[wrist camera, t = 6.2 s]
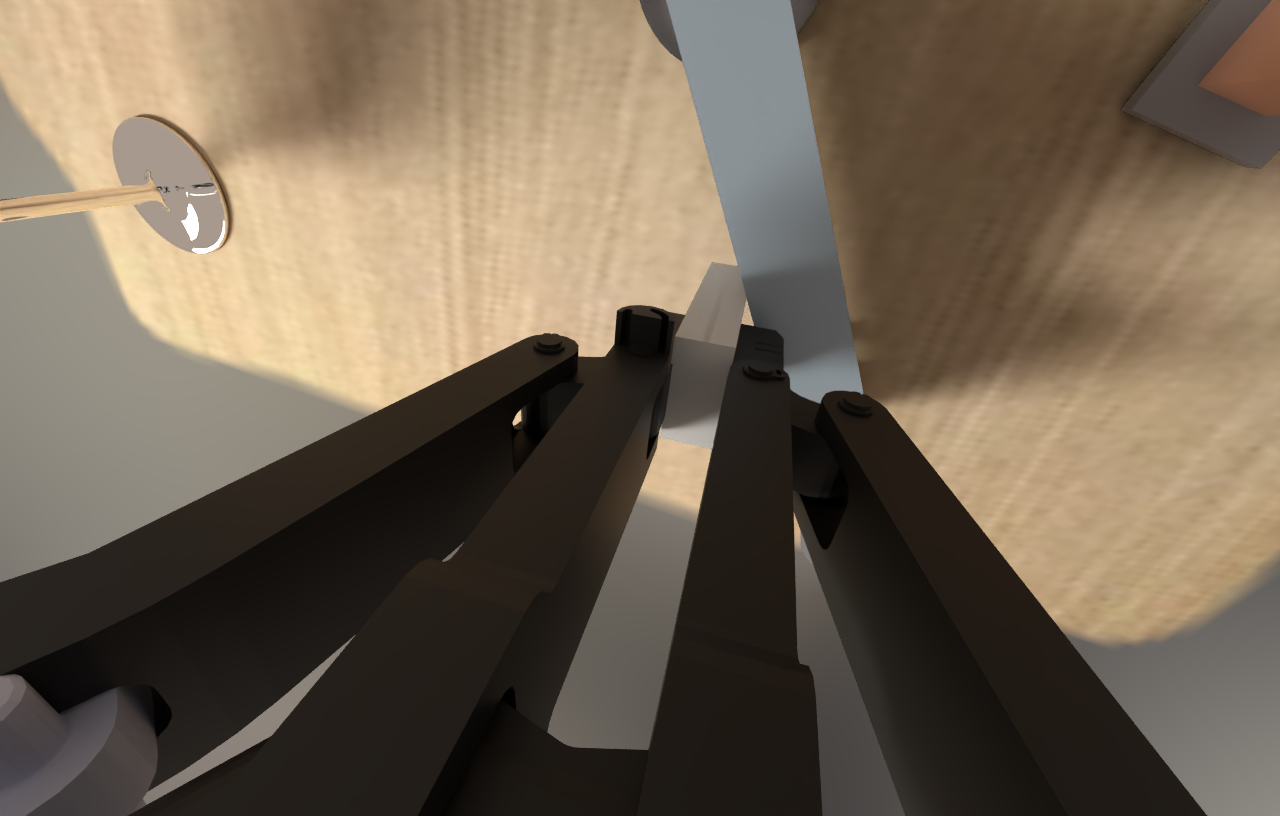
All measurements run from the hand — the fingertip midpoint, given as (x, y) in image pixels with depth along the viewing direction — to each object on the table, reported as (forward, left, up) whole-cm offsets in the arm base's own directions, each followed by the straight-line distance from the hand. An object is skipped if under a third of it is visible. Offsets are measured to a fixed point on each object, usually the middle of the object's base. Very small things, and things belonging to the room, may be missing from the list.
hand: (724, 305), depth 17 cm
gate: (-2, +2, -4) cm, 4 cm away
